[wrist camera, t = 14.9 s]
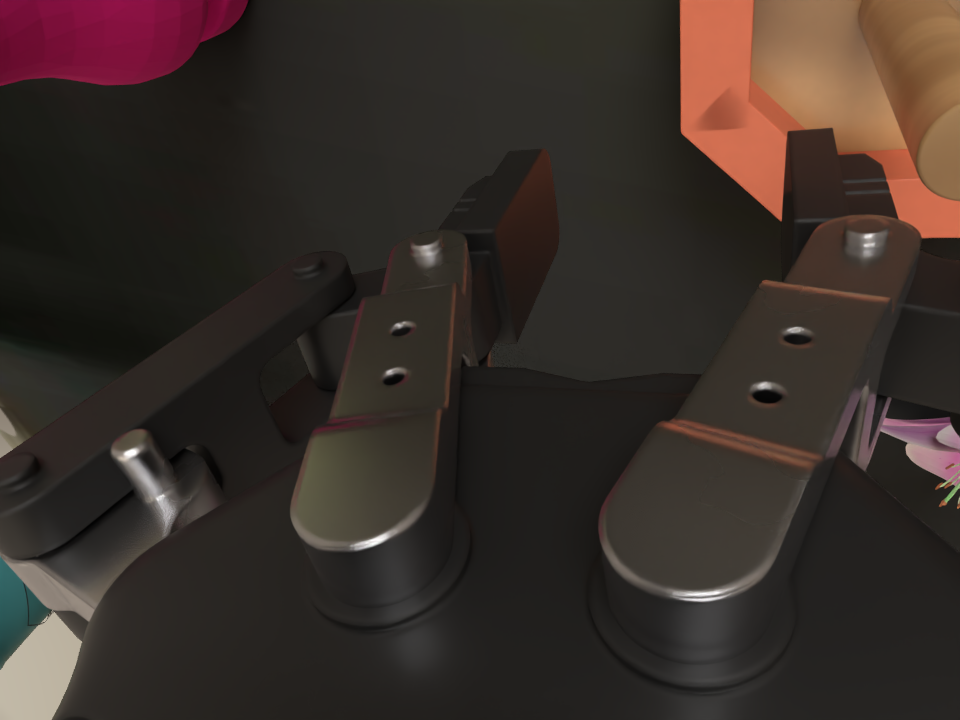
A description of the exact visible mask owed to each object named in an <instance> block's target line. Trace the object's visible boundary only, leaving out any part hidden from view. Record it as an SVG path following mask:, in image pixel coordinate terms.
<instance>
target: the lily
mask: <svg viewBox="0 0 960 720" xmlns="http://www.w3.org/2000/svg"><path fill="white" fill-rule="evenodd" d="M880 431H882V432H884V433H887V434H889V435H891V436H893V437H896V438H898V439H900V440H903V441H905V442H907V443H908V444H907V445H906V454H907V455H908V457H909V458H910V459H911V461H913V462H914V463H915V464H917V465H918V466H920V467H922V468H923V469H925V470H927V471H929V472H931V473H933V474H935V475H937V476H939V477H941V478H943V479H945V480H947V482H945V483H944V484H943V483H940V484H939V485H937V487H936V488H935V489H936V490H937V489H938V488H939V487H943V486H944V485H946V484H947V483H948V482H950V483H948V484H947V485H946V486H945V487H944V488H947V487H949V486H951V485H952V484H953V485H955V488H954V489H953V490H952V491H951V492H950V494H949V495H948V496H947V497H946V498H945V499H944V500H943V501H941V503H940V505H939V506H940V507H941V506H942V505H946V504H947V501H948V500H949V499H950V498H951V497H952V496H953V495H954V494H955V492H956V491H957V490H958V489H959V488H960V437H959V436H958V435H957V433H956V432H955V430H954V429H953V427H952V425H951V422H950V417H946V418H935V419H920V420H898V419H889V418H884V421H883V424H882V427H881V430H880ZM959 508H960V498H959V500H958V506H957V509H959Z"/></svg>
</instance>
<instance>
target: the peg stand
mask: <svg viewBox="0 0 960 720" xmlns="http://www.w3.org/2000/svg"><path fill="white" fill-rule="evenodd" d="M751 79H752V80H753V81H754V82H755V83H756V84H757V85H758V86H759V87H760V88H761V89H762V90H764V91H765V92H766V93H767V94H768V95H769V96H770V97H771V98H772V99H773V100H774V101H775V102H777V103H778V104H779V105H780V106H781V107H782V108H783V109H784V110H785V111H786V112H787V113H788V114H790V115H791V116H792V117H793V118H794V119H795V120H796V121H797V122H798V123H799V124H800V125H802V126H803V127H804V128H805V129H806V130H807V129H821V128H833V132H834V137H835V142H836V147H837V152H856V151H877V150H898V149H908V151H909V153H910V156H911V158H912V161H913V163H914V166H915V168H916V171H917V173H918V176H919V178H920V180H921V181H922V183H923V184H924V185H925V186H926V187H927V188H928V189H929V190H930V191H931V192H933V193H934V194H936V195H938V196H940V197H943V198H946V199H950V200H955V201H960V0H754V17H753V38H752V60H751Z"/></svg>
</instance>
